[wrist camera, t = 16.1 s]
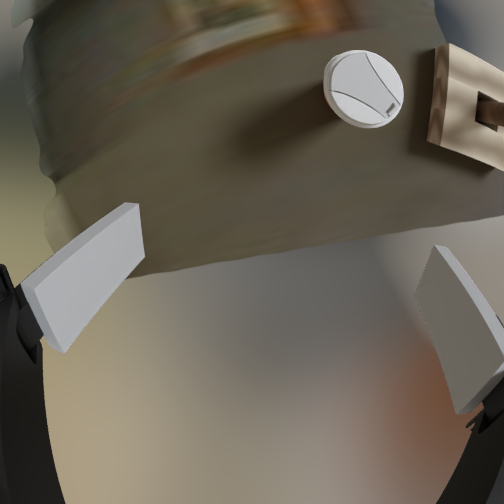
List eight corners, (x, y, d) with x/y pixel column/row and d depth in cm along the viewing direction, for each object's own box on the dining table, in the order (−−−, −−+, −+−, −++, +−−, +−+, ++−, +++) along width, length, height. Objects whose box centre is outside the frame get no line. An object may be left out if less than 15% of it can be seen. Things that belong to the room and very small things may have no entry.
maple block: (435, 48, 26) (449, 43, 22) (506, 84, 25) (523, 85, 20) (426, 140, 34) (440, 146, 30) (496, 167, 32) (512, 175, 28)
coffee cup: (382, 94, 32) (423, 90, 20) (348, 133, 36) (373, 146, 24) (337, 56, 31) (357, 30, 18) (303, 96, 35) (305, 88, 22)
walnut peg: (465, 96, 29) (522, 101, 16) (480, 103, 28) (538, 112, 15) (463, 116, 30) (520, 128, 18) (478, 122, 30) (536, 138, 17)
